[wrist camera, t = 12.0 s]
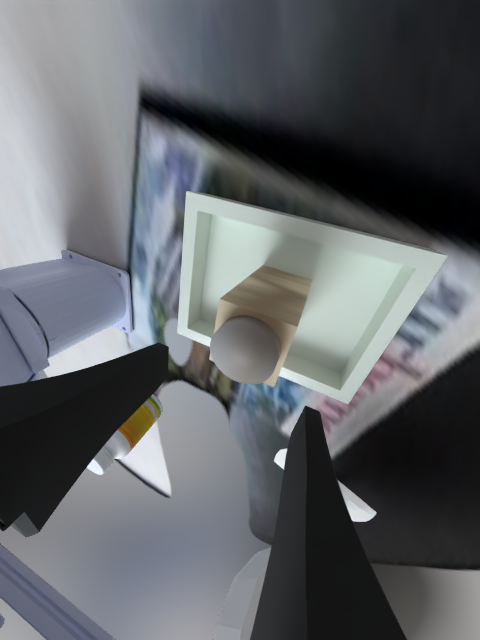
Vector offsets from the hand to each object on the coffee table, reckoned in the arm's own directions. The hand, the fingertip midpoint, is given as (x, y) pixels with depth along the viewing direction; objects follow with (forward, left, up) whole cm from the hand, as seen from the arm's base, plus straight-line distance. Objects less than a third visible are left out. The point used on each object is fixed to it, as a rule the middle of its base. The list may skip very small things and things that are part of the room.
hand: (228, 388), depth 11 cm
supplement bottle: (-14, -21, -11) cm, 28 cm away
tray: (0, +2, -10) cm, 11 cm away
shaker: (0, +2, -10) cm, 10 cm away
